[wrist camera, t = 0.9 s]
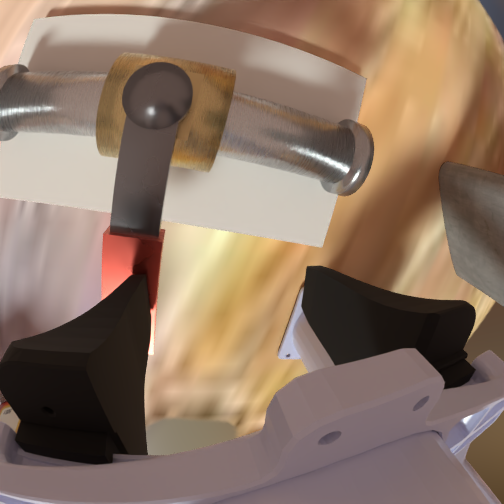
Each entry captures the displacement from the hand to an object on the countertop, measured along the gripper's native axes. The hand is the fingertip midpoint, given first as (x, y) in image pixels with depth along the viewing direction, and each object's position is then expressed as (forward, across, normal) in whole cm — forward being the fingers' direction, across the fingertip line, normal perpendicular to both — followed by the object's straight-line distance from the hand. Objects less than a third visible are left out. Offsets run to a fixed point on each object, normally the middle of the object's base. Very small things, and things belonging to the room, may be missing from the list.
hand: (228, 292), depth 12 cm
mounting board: (+10, +3, -8) cm, 13 cm away
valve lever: (+2, +4, -3) cm, 5 cm away
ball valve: (+10, +3, -8) cm, 13 cm away
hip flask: (+10, -27, 0) cm, 29 cm away
